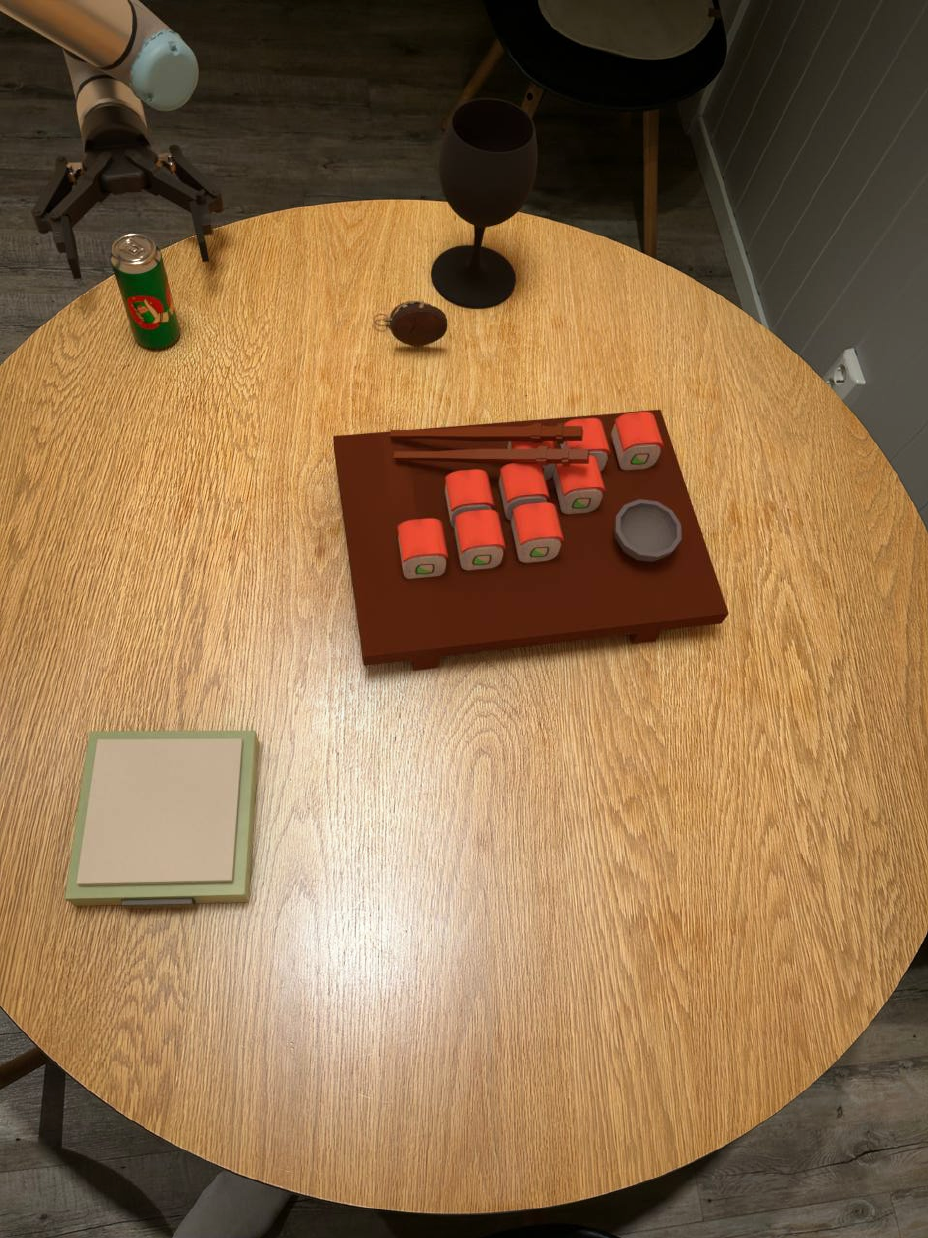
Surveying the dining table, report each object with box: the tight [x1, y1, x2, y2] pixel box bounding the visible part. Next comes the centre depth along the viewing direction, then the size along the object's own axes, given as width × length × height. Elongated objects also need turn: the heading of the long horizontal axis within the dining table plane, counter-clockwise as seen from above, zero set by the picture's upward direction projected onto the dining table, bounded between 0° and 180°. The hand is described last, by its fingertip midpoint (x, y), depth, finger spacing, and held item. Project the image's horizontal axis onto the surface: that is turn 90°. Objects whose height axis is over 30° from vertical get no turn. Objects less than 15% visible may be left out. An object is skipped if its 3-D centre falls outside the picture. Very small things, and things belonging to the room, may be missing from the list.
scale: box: [63, 730, 260, 910], centre depth 79 cm, size 14×14×4 cm
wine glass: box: [430, 97, 539, 310], centre depth 104 cm, size 10×10×20 cm
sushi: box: [332, 409, 730, 672], centre depth 91 cm, size 25×35×12 cm
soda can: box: [109, 233, 181, 350], centre depth 99 cm, size 5×5×12 cm
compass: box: [372, 299, 448, 346], centre depth 105 cm, size 8×8×7 cm
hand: (140, 260), depth 101 cm, fingers open, 13 cm apart
